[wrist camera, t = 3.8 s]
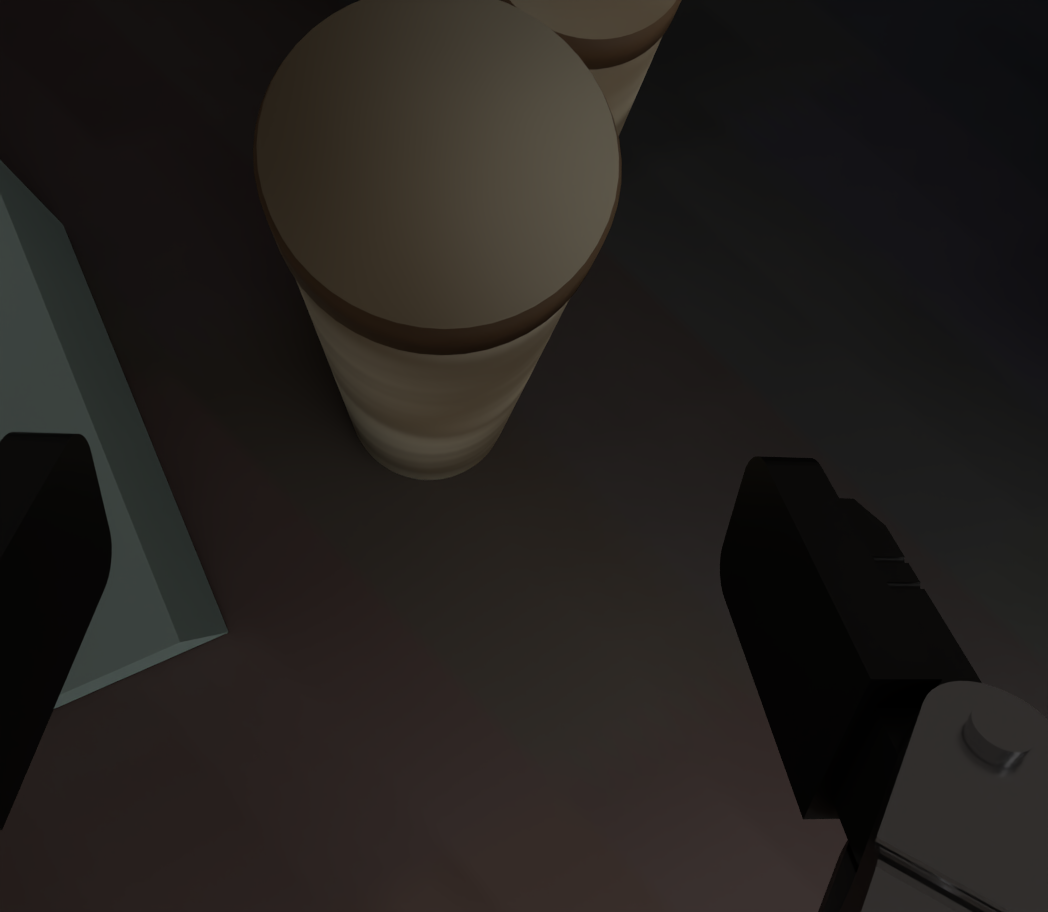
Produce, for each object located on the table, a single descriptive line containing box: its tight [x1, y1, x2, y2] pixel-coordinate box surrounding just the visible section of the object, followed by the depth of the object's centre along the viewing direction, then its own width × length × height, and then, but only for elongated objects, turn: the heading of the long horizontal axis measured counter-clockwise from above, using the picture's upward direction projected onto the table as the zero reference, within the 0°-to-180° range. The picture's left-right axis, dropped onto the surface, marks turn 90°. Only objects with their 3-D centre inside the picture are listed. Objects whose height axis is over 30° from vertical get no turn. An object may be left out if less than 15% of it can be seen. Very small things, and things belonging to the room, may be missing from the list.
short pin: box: [500, 0, 681, 136], centre depth 19 cm, size 4×4×7 cm
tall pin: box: [253, 0, 622, 480], centre depth 15 cm, size 4×4×12 cm
